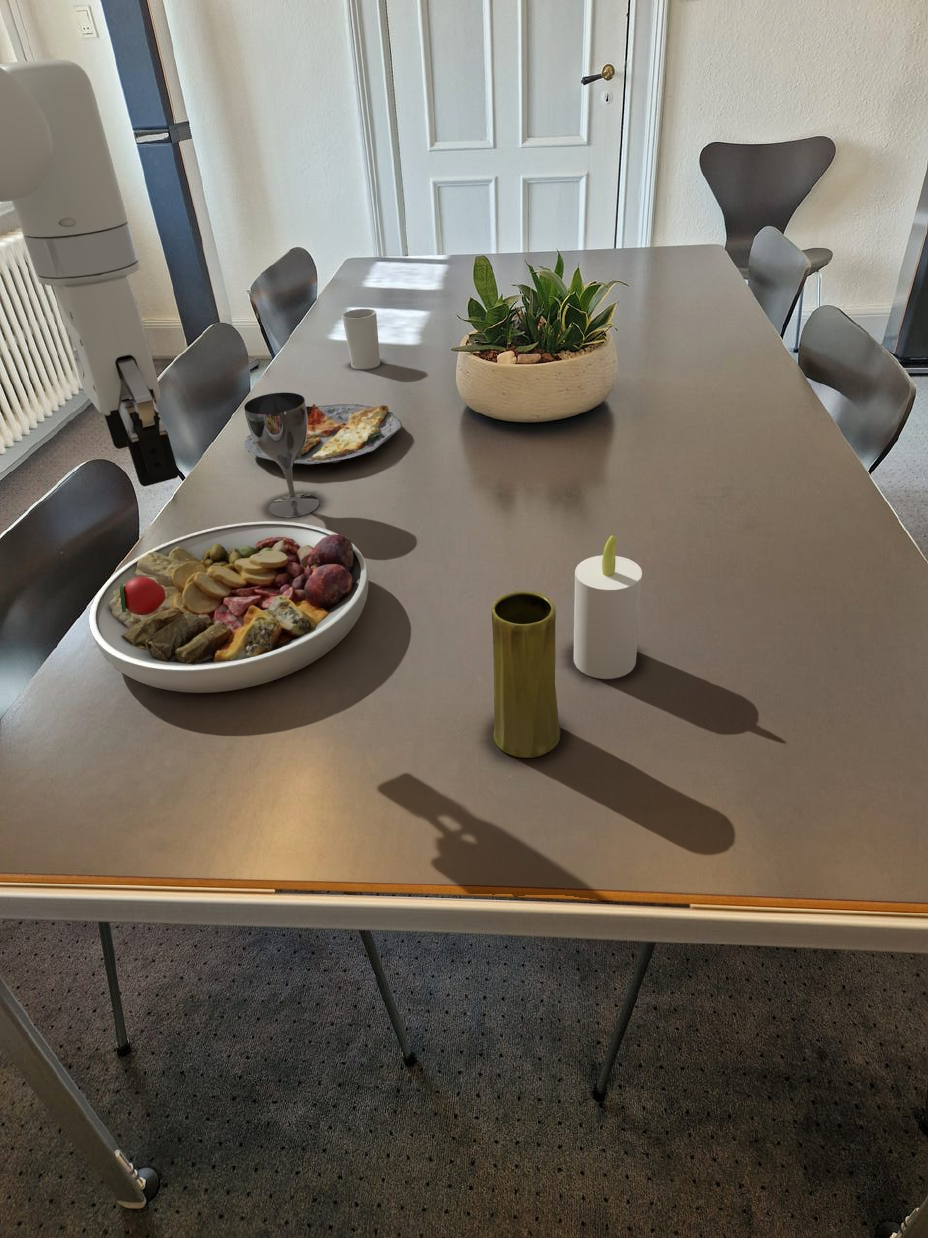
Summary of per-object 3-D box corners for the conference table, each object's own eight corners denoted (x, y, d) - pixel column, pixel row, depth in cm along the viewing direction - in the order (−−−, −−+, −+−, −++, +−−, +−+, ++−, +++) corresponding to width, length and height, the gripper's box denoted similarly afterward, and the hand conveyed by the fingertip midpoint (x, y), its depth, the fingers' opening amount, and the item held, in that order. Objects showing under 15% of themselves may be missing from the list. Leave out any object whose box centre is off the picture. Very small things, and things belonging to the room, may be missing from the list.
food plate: (303, 410, 151) (300, 390, 149) (422, 420, 143) (421, 400, 141) (222, 468, 132) (217, 447, 130) (354, 484, 124) (351, 461, 122)
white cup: (385, 366, 168) (379, 315, 162) (352, 372, 167) (345, 320, 161) (378, 357, 173) (372, 306, 168) (346, 362, 172) (339, 311, 166)
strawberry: (166, 610, 91) (122, 614, 90) (162, 573, 91) (117, 576, 89) (168, 615, 88) (123, 619, 86) (164, 576, 87) (118, 580, 85)
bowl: (119, 747, 80) (93, 682, 76) (91, 596, 103) (69, 539, 99) (412, 652, 90) (405, 589, 85) (327, 533, 113) (317, 479, 108)
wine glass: (334, 499, 121) (317, 397, 112) (296, 523, 115) (276, 418, 107) (292, 488, 125) (273, 389, 116) (254, 511, 119) (231, 408, 111)
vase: (552, 764, 75) (551, 633, 67) (485, 753, 77) (477, 623, 68) (566, 719, 80) (567, 591, 72) (503, 709, 81) (497, 583, 73)
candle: (616, 634, 90) (622, 507, 82) (647, 669, 85) (658, 538, 76) (562, 649, 89) (563, 522, 80) (591, 685, 83) (595, 553, 75)
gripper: (16, 245, 70) (83, 442, 79) (50, 282, 57) (124, 510, 67) (110, 231, 72) (163, 422, 82) (162, 263, 60) (217, 484, 70)
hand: (145, 461), depth 74 cm, fingers open, 9 cm apart
